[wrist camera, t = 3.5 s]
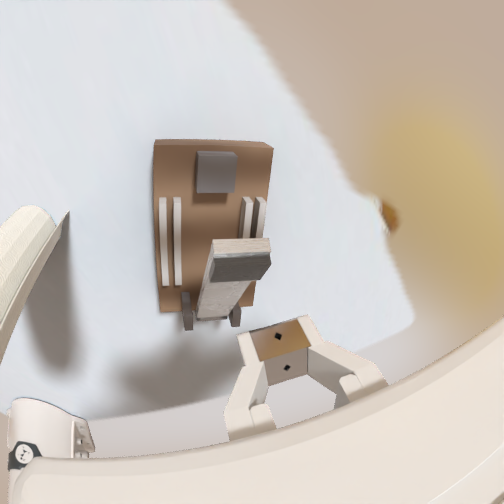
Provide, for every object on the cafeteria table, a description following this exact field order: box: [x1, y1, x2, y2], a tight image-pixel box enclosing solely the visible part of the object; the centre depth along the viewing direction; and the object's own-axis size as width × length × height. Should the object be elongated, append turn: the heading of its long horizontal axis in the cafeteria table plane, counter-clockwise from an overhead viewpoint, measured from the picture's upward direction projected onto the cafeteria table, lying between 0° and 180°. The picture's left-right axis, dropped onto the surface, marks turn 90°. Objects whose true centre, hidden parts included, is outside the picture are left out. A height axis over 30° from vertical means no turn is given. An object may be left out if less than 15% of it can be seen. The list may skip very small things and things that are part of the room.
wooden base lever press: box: [153, 139, 274, 331], centre depth 27 cm, size 17×10×6 cm, turn 173°
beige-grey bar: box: [195, 238, 271, 322], centre depth 22 cm, size 16×3×2 cm
